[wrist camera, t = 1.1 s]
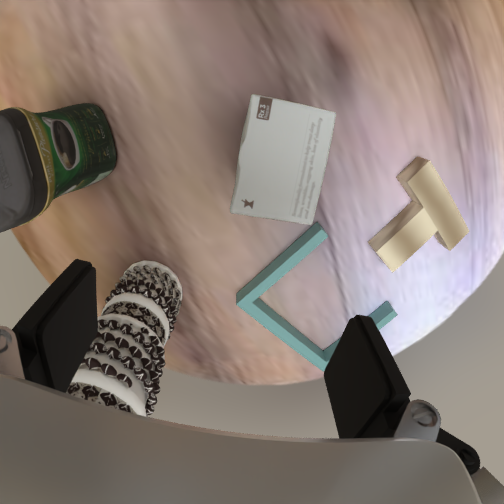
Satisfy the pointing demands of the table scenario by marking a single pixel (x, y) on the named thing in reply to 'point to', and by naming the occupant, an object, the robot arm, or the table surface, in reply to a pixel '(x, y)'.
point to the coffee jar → (49, 158)
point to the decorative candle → (131, 340)
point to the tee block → (420, 217)
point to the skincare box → (282, 160)
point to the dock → (275, 322)
